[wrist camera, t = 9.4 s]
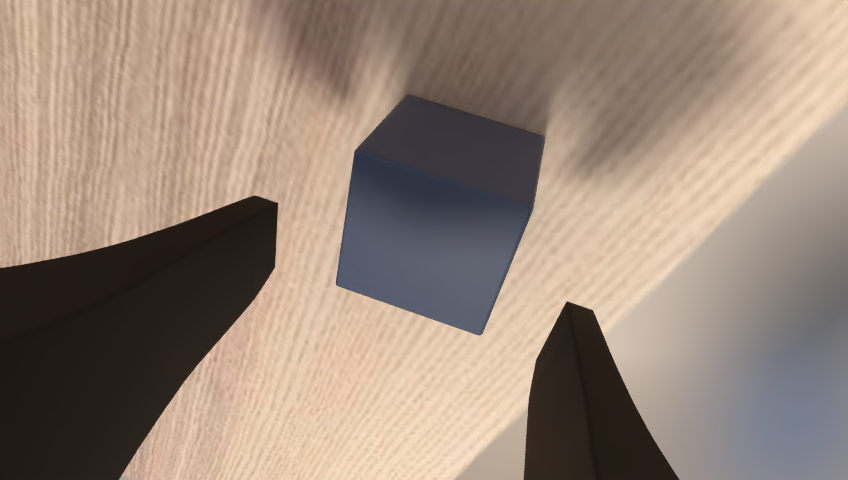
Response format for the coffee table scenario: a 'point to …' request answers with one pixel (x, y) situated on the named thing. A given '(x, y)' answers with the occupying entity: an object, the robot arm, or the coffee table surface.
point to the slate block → (438, 211)
